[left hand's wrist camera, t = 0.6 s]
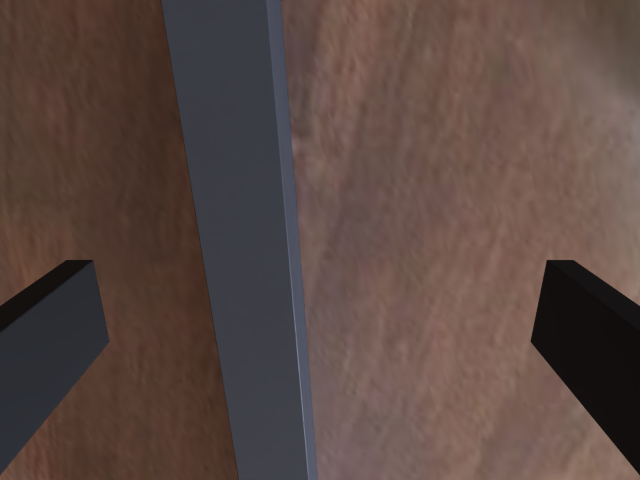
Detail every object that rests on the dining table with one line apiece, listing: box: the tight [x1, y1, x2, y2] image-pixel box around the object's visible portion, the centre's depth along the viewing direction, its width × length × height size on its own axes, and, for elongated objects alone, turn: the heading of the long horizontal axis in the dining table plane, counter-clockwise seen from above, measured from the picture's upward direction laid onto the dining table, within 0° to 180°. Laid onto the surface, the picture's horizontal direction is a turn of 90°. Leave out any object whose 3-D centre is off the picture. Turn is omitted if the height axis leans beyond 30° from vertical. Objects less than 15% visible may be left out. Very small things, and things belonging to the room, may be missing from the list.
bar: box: [161, 0, 318, 480], centre depth 32 cm, size 54×5×9 cm, turn 3°
